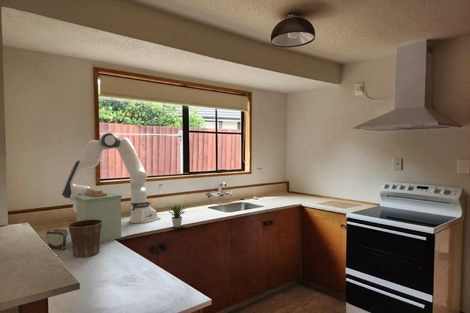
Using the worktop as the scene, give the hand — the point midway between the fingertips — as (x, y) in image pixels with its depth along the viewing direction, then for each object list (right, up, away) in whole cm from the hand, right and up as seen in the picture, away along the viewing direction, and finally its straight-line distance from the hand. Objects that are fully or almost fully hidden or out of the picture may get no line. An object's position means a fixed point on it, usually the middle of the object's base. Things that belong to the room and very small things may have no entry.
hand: (91, 190), depth 194 cm
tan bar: (+3, -2, -3) cm, 5 cm away
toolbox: (+8, -28, -8) cm, 30 cm away
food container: (-6, -29, -24) cm, 38 cm away
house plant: (+51, -27, +18) cm, 60 cm away
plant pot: (+13, -29, -34) cm, 46 cm away
